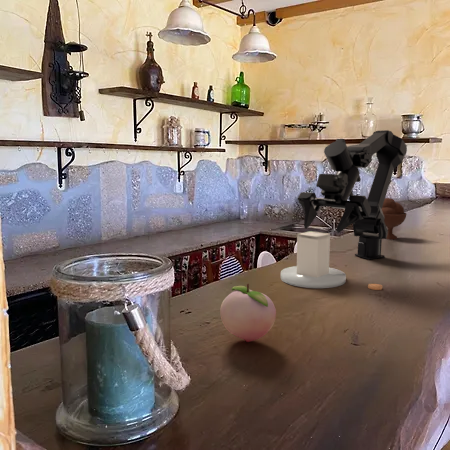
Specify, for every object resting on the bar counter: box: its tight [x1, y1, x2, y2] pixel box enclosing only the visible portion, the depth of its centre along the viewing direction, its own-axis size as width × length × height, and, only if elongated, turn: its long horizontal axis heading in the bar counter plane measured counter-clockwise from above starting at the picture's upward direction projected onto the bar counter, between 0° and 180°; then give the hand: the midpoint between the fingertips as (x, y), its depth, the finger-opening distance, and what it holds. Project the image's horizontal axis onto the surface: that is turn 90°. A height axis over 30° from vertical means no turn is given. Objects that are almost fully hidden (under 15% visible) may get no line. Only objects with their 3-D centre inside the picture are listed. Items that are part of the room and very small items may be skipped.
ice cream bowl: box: [382, 197, 407, 240], centre depth 167 cm, size 11×11×15 cm
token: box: [367, 283, 383, 291], centre depth 105 cm, size 3×3×1 cm
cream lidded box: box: [296, 230, 331, 278], centre depth 111 cm, size 6×6×10 cm
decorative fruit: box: [219, 283, 277, 343], centre depth 74 cm, size 9×8×10 cm
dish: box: [280, 265, 347, 289], centre depth 112 cm, size 16×16×2 cm
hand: (320, 229), depth 113 cm, fingers open, 9 cm apart
